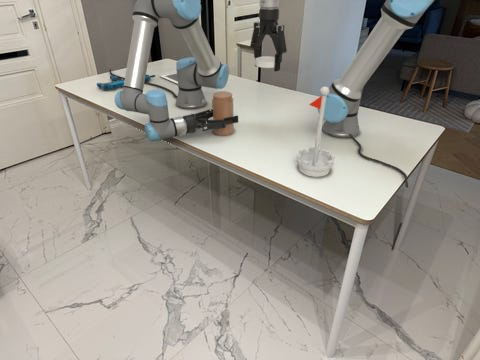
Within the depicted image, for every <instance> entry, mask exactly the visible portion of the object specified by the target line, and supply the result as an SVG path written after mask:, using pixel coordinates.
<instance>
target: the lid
mask: <svg viewBox="0 0 480 360" xmlns="http://www.w3.org/2000/svg"><path fill="white" fill-rule="evenodd" d="M255 65H256V66H257V67H258V68H262V69H263V68H264V69H274V66H275V56H272V55H266V56H263V55H262V56H261V57H258V58H256V59H255V58H254V66H255ZM257 67H256V68H257Z"/></svg>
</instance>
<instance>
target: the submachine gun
mask: <svg viewBox="0 0 480 360" xmlns="http://www.w3.org/2000/svg"><path fill="white" fill-rule="evenodd" d="M117 76H118V74H115V75H109V79H110V80H111V81H110V82H103V83H102V82H96V87H97V88H99V89H100V90H101V91H105V90H112V89H113V90H117V88H120V87H121V88H122V87H123V86H124V80H125V79H121V78H118V77H117ZM152 78H156V74H152V75H149V74H146V77H145V82H149V81H150V80H151V79H152Z"/></svg>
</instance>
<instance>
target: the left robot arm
mask: <svg viewBox="0 0 480 360" xmlns="http://www.w3.org/2000/svg"><path fill="white" fill-rule="evenodd" d="M201 2H202V1H201V0H136V2H135V4H134V7H133V10H132V15H131V19H132V21H133V27H132V32H131V33H132V34H131V39H130V44H129V52H128V56H127V58H128V59H127V63H126V68H125V74H124V77H123V76H120V75H117V77H118V78H120V79H122V80H123V79H125V80H124V86H122V89H121V90H118V91H117V92H116V94H115V95H114V104H115V106H116V107H117V108H118V109H119V110H123V111H126V112H133V113H138V114H144V115H148V118H149V119H148V120H149V121H148V122H146V123H145V124H144V132H145V135H146V138H147V140H148V141H149V142H158V141H163V140H168V139H171V138H175V137H176V138H177V137H178V138H179V137H180V136H185V135H190V134H194V133H195V132H196V131H197V129H201V130H202V132H206V131H212V130H213V129H221V128H226V125H228V124H232V123H234V124H237V123H239V115H233V117H229V118H224V120H213V110H212V108H211V109H205V110H203V111H199V112H196V113H190V114H186V115H182V116H177V117H171V118H170V114H169V107H168V106H169V105H168V102H169V101H168V99H167V94H166V92H165V91H164V90H166V91H168V92H169V93H171V94H172V96H173V97H174V98H176V101H175V102H176V106H177V107H178V108H180V109H184V110H197V109H201V108H203V107H204V106H206V105H207V99H206V97H205V95H204V92H203V89H202V87H203V88H209V89H215V90H222V89H224V88H225V87H226V86H227V84H228V81H229V76H230V68H229V66H228V64H226V63H221V60H220V58H219V57H218V56H217V55H214V52H213V50H212V48H211V46H210V43H209V41H208V38H207V36H206V34H205V32H204V30H203V27H202V25H201V23H200V20H199V19H200V15H201V12H202V4H201ZM160 19H168V20H169V21H170V23H171V25H172V27H173V28H174V29H176V30H179V33H180V34H181V36H182V38H183V41H184V42H185V43H186V46H187V47H188V49H189V51H190V53H191V55H192V56H188V57H183V58H180V59H178V60H177V61H176V64H175V66H176V69H175V70H176V72H177V78H178V84H177V87H178V92H177V95H176V93H175V91H173V90H171V89H170V88H167V87H165V86H162V85H159V84H157V83H152V82H149V81H146V82H145V77H146V75H147V70H148V66H149V59H150V54H151V48H152V43H153V37H154V32H155V28H156V27H157V26H158V24H159V20H160ZM108 71H109V74H110V76H113V75H116V74H115V73H113V72H112V69H111V68H109V70H108ZM145 85H150V86H152V87H153V86H154V87H157V88H159V89H150V90H147V91H146V93H144V87H145ZM160 88H161V89H160ZM163 89H164V90H163ZM213 131H214V130H213Z"/></svg>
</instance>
